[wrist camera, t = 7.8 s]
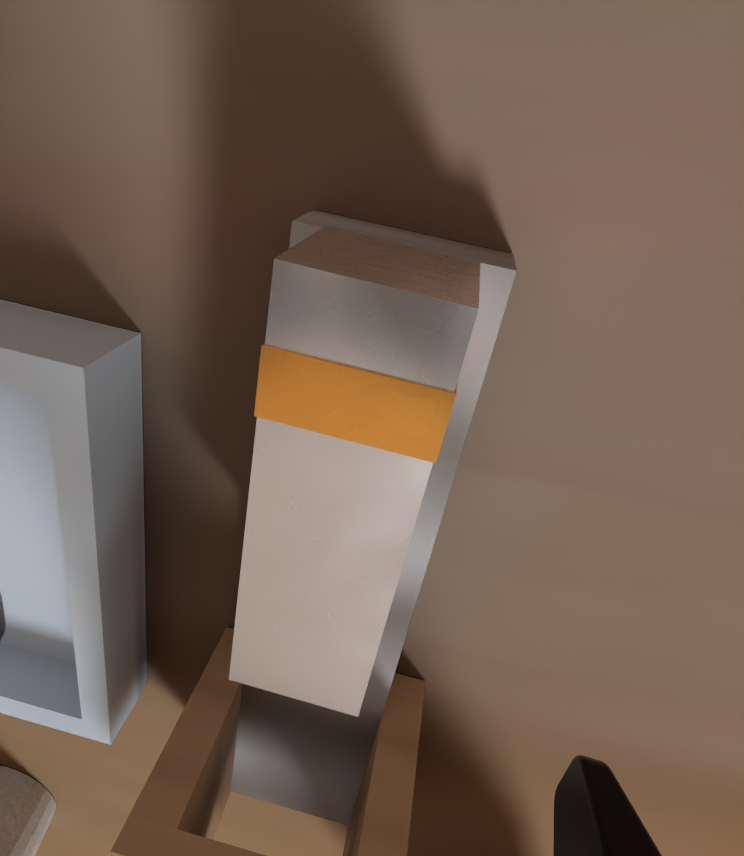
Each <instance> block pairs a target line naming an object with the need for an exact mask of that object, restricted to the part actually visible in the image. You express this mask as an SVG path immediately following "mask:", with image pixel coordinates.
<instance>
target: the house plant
mask: <svg viewBox="0 0 744 856" xmlns="http://www.w3.org/2000/svg"><path fill="white" fill-rule="evenodd" d="M55 811H56V803H55V801H54V799H53V797H52V795H51V794H50V793H49V792H48V790H47V789H46V788H45V787H43V786H42V785H41V784H40V783H39V782H37V781H36V780H34V779H33V778H31V777H29V776H28V775H26V774H24V773H21V772H19V771H17V770H14V769H11V768H8V767H4V766H0V856H35V854H36V852H37V850H38V848H39V846H40V843H41V841H42V839H43V837H44V835H45V832H46V830H47V828H48V826H49V824H50V822H51V819H52V817H53V815H54V813H55Z"/></svg>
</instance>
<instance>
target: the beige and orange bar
mask: <svg viewBox="0 0 744 856" xmlns="http://www.w3.org/2000/svg"><path fill="white" fill-rule="evenodd" d="M479 291H480V263H479V262H475V261H471V260H467V259H463V258H458V257H454V256H450V255H446V254H442V253H437V252H433V251H429V250H425V249H421V248H417V247H412V246H408V245H404V244H400V243H396V242H391V241H387V240H383V239H379V238H375V237H370V236H366V235H362V234H358V233H354V232H349V231H345V230H341V229H337V228H333V227H329V226H323V227H322V228H320V229H319V230H317V231H316V232H314V233H313V234H311V235H310V236H308V237H307V238H305V239H304V240H302V241H300V242H299V243H297V244H296V245H294V246H293V247H291V248H290V249H288V250H287V251H285V252H284V253H282V254H280V255H279V256H277V257H276V258H274V263H273V272H272V281H271V291H270V300H269V309H268V319H267V328H266V337H265V342H264V343H263V344H262V345H261V354H260V363H259V373H258V382H257V392H256V401H255V411H254V416H256V417H257V421H256V430H255V440H254V449H253V458H252V468H251V477H250V486H249V495H248V505H247V514H246V523H245V533H244V542H243V551H242V561H241V570H240V579H239V589H238V598H237V607H236V616H235V626H234V635H233V644H232V654H231V663H230V672H229V680H232V681H235V682H239V683H242V684H246V685H249V686H253V687H256V688H260V689H263V690H267V691H270V692H273V693H277V694H280V695H284V696H287V697H291V698H294V699H298V700H301V701H305V702H308V703H312V704H315V705H318V706H322V707H325V708H329V709H332V710H336V711H339V712H343V713H346V714H350V715H353V716H357V717H358V715H359V712H360V709H361V705H362V702H363V699H364V695H365V692H366V688H367V685H368V682H369V678H370V675H371V671H372V668H373V665H374V661H375V658H376V655H377V651H378V648H379V644H380V641H381V638H382V634H383V631H384V628H385V624H386V621H387V617H388V614H389V611H390V607H391V604H392V601H393V597H394V594H395V590H396V587H397V584H398V580H399V577H400V573H401V570H402V567H403V563H404V560H405V557H406V553H407V550H408V546H409V543H410V540H411V536H412V533H413V530H414V526H415V523H416V519H417V516H418V513H419V509H420V506H421V502H422V499H423V496H424V492H425V489H426V486H427V482H428V479H429V475H430V472H431V469H432V465H433V463H436V461H437V458H438V454H439V451H440V448H441V444H442V441H443V438H444V434H445V431H446V428H447V424H448V421H449V418H450V414H451V411H452V408H453V404H454V401H455V397H456V393H457V384H458V377H459V374H460V371H461V367H462V364H463V361H464V357H465V354H466V350H467V347H468V344H469V340H470V337H471V334H472V330H473V327H474V323H475V320H476V317H477V313H478V310H479Z"/></svg>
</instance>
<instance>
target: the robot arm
mask: <svg viewBox="0 0 744 856" xmlns="http://www.w3.org/2000/svg"><path fill="white" fill-rule="evenodd" d="M5 628H6V621H5V614H4V608H3V602H2V596H1V593H0V641H1V639H2V637H3V635H4V632H5ZM554 856H662V855H661V854H660V852H659V850H658V849H657V847H656V845H655V843H654V842H653V840H652V838H651V837H650V835H649V833H648V832H647V830H646V828H645V827H644V825H643V823H642V822H641V820H640V818H639V816H638V815H637V813H636V811H635V810H634V808H633V806H632V805H631V803H630V801H629V800H628V798H627V796H626V794H625V793H624V791H623V789H622V788H621V786H620V784H619V783H618V781H617V779H616V778H615V776H614V774H613V772H612V771H611V769H610V768H609V767H608V765H606V764H605V763H604V762H602V761H600V760H596V759H593V758H589V757H586V756H582V755H578V756H576V757H575V758H574V759H573V760H572V762H571V764H570V765H569V767H568V769H567V771H566V772H565V774H564V776H563V777H562V779H561V781H560V782H559V784H558V786H557V789H556V793H555V800H554Z"/></svg>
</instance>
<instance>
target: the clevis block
mask: <svg viewBox="0 0 744 856" xmlns="http://www.w3.org/2000/svg"><path fill="white" fill-rule="evenodd" d="M323 226H329V227H333V228H337V229H341V230H345V231H349V232H354V233H358V234H362V235H366V236H370V237H375V238H379V239H383V240H387V241H391V242H396V243H400V244H404V245H408V246H412V247H417V248H421V249H425V250H429V251H433V252H437V253H442V254H446V255H450V256H454V257H458V258H463V259H467V260H471V261H475V262H479V263H480V291H479V310H478V313H477V317H476V320H475V323H474V327H473V330H472V334H471V337H470V340H469V344H468V347H467V350H466V354H465V357H464V361H463V364H462V367H461V371H460V374H459V377H458V384H457V393H456V397H455V401H454V404H453V408H452V411H451V414H450V418H449V421H448V424H447V428H446V431H445V434H444V438H443V441H442V444H441V448H440V451H439V454H438V458H437V461H436V463H433V465H432V469H431V472H430V475H429V479H428V482H427V486H426V489H425V492H424V496H423V499H422V502H421V506H420V509H419V513H418V516H417V519H416V523H415V526H414V530H413V533H412V536H411V540H410V543H409V546H408V550H407V553H406V557H405V560H404V563H403V567H402V570H401V573H400V577H399V580H398V584H397V587H396V590H395V594H394V597H393V601H392V604H391V607H390V611H389V614H388V617H387V621H386V624H385V628H384V631H383V634H382V638H381V641H380V644H379V648H378V651H377V655H376V658H375V661H374V665H373V668H372V671H371V675H370V678H369V682H368V685H367V688H366V692H365V695H364V699H363V702H362V705H361V709H360V712H359V715H358V717H357V716H353V715H350V714H346V713H343V712H339V711H336V710H332V709H329V708H325V707H322V706H318V705H315V704H312V703H308V702H305V701H301V700H298V699H294V698H291V697H287V696H284V695H280V694H277V693H273V692H270V691H267V690H263V689H260V688H256V687H253V686H249V685H246V684H242V683H239V682H235V681H232V680H229V672H230V663H231V654H232V644H233V635H234V629H232V628H229V627H226V628H225V630H224V632H223V634H222V636H221V638H220V640H219V642H218V644H217V646H216V648H215V650H214V652H213V654H212V656H211V658H210V660H209V662H208V663H207V665H206V667H205V669H204V671H203V673H202V675H201V677H200V679H199V681H198V683H197V685H196V687H195V689H194V691H193V693H192V695H191V696H190V698H189V700H188V702H187V704H186V706H185V708H184V710H183V712H182V714H181V716H180V718H179V720H178V722H177V724H176V726H175V728H174V730H173V731H172V733H171V735H170V737H169V739H168V741H167V743H166V745H165V747H164V749H163V751H162V753H161V755H160V757H159V759H158V761H157V763H156V765H155V766H154V768H153V770H152V772H151V774H150V776H149V778H148V780H147V782H146V784H145V786H144V788H143V790H142V792H141V794H140V796H139V798H138V800H137V801H136V803H135V805H134V807H133V809H132V811H131V813H130V815H129V817H128V819H127V821H126V823H125V825H124V827H123V829H122V831H121V833H120V834H119V836H118V838H117V840H116V842H115V844H114V846H113V848H112V850H111V856H265V855H261V854H258V853H255V852H251V851H248V850H245V849H241V848H238V847H235V846H231V845H228V844H225V843H221V842H218V841H215V840H212V839H213V837H214V834H215V832H216V829H217V826H218V824H219V821H220V818H221V816H222V813H223V811H224V808H225V805H226V803H227V800H228V797H229V795H230V792H231V791H232V792H236V793H239V794H243V795H246V796H250V797H253V798H256V799H260V800H263V801H267V802H270V803H273V804H277V805H280V806H284V807H287V808H291V809H294V810H297V811H301V812H304V813H308V814H311V815H315V816H318V817H321V818H325V819H328V820H332V821H335V822H339V823H342V824H345V825H349V826H348V831H347V836H346V841H345V847H344V852H343V856H407V850H408V841H409V831H410V822H411V812H412V803H413V793H414V784H415V775H416V765H417V756H418V746H419V737H420V728H421V718H422V709H423V699H424V690H425V681H423V680H419V679H416V678H412V677H408V676H405V675H401V674H397V673H395V671H396V667H397V664H398V661H399V658H400V654H401V651H402V648H403V644H404V641H405V638H406V634H407V631H408V628H409V625H410V621H411V618H412V615H413V611H414V608H415V605H416V601H417V598H418V595H419V592H420V588H421V585H422V582H423V578H424V575H425V572H426V568H427V565H428V562H429V559H430V555H431V552H432V549H433V545H434V542H435V539H436V535H437V532H438V529H439V526H440V522H441V519H442V516H443V512H444V509H445V506H446V502H447V499H448V496H449V493H450V489H451V486H452V483H453V479H454V476H455V473H456V469H457V466H458V463H459V460H460V456H461V453H462V450H463V446H464V443H465V440H466V436H467V433H468V430H469V427H470V423H471V420H472V417H473V413H474V410H475V407H476V403H477V400H478V397H479V394H480V390H481V387H482V384H483V380H484V377H485V374H486V370H487V367H488V364H489V361H490V357H491V354H492V351H493V347H494V344H495V341H496V338H497V334H498V331H499V328H500V324H501V321H502V318H503V314H504V311H505V308H506V305H507V301H508V298H509V295H510V291H511V288H512V285H513V281H514V278H515V275H516V272H517V270H516V265H515V261H514V256H513V254H510V253H506V252H501V251H497V250H492V249H488V248H483V247H479V246H474V245H470V244H465V243H461V242H456V241H452V240H447V239H443V238H438V237H434V236H429V235H424V234H420V233H415V232H411V231H406V230H402V229H397V228H393V227H388V226H384V225H379V224H375V223H370V222H366V221H361V220H357V219H352V218H348V217H343V216H339V215H334V214H330V213H325V212H321V211H316V210H312V211H310V212H308V213H306V214H304V215H302V216H300V217H298V218H296V219H294V220H292V225H291V234H290V243H289V249H290V248H291V247H293V246H294V245H296V244H297V243H299V242H300V241H302V240H304V239H305V238H307V237H308V236H310V235H311V234H313V233H314V232H316V231H317V230H319V229H320V228H322V227H323Z"/></svg>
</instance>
